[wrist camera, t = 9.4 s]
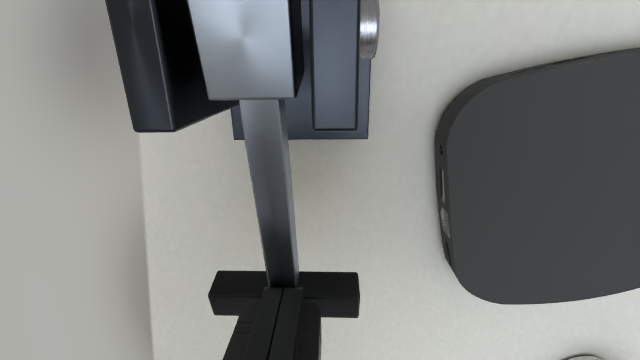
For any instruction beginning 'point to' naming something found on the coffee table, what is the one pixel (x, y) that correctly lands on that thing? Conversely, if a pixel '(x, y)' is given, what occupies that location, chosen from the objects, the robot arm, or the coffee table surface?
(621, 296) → the coffee table surface
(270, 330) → the robot arm
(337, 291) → the lever
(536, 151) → the media streaming box
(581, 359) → the pill bottle
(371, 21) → the bracket
